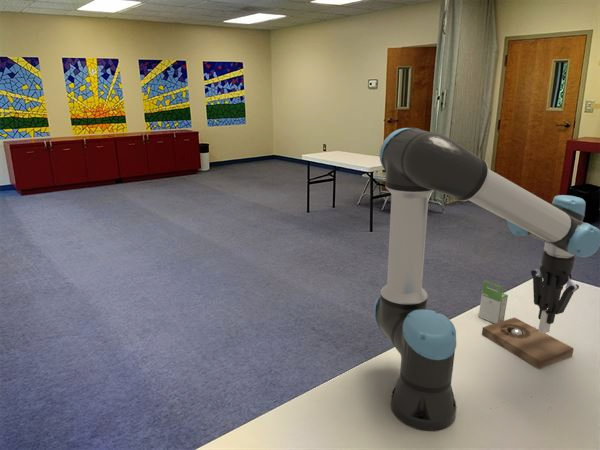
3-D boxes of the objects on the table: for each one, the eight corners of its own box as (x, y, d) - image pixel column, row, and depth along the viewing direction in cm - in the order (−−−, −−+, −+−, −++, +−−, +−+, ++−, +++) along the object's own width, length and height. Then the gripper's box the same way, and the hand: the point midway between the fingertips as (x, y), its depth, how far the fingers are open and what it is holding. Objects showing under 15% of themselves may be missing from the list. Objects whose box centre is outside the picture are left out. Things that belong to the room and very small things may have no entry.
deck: (572, 355, 132) (573, 348, 131) (538, 368, 126) (540, 360, 126) (513, 324, 149) (514, 317, 149) (481, 334, 143) (482, 327, 143)
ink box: (504, 321, 151) (509, 284, 147) (497, 325, 149) (502, 287, 145) (485, 313, 156) (489, 277, 152) (478, 317, 154) (482, 280, 150)
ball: (516, 344, 140) (518, 338, 137) (506, 336, 142) (509, 330, 140) (523, 338, 141) (526, 331, 139) (514, 330, 143) (516, 324, 141)
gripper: (591, 259, 120) (573, 340, 127) (546, 244, 131) (532, 318, 138) (573, 263, 117) (555, 346, 124) (528, 247, 128) (514, 323, 135)
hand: (543, 331), depth 131 cm, fingers closed
